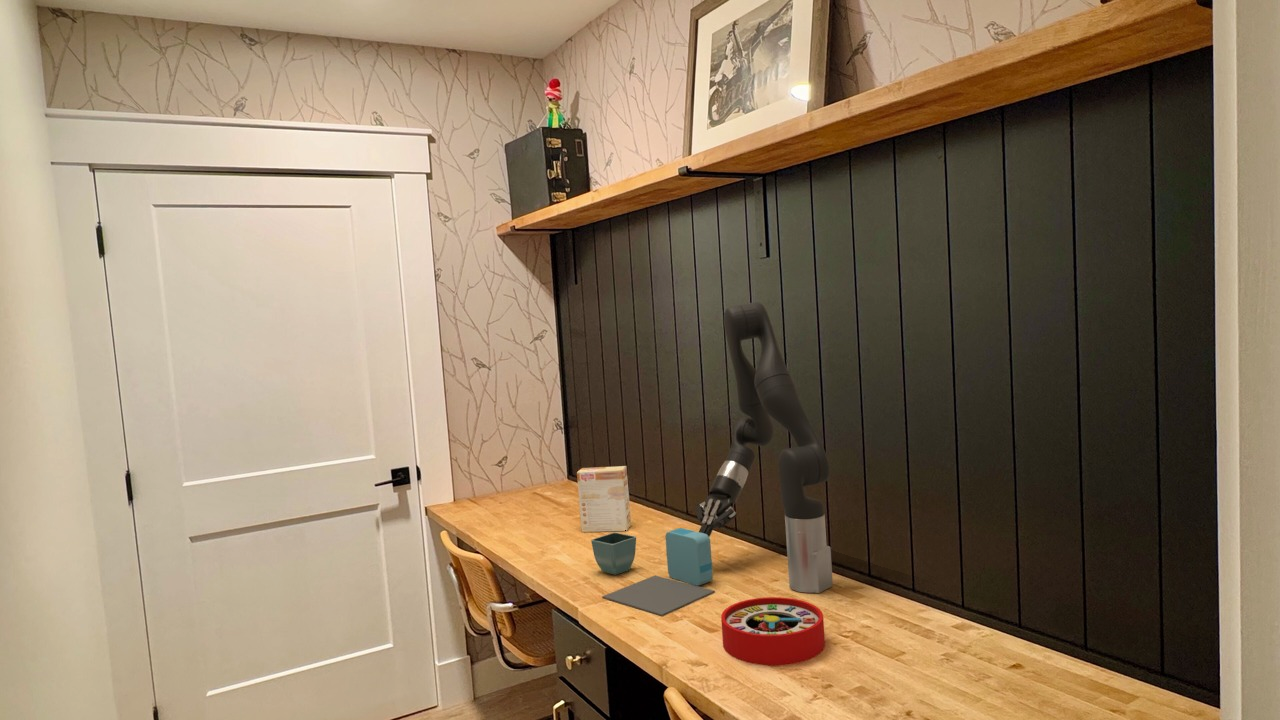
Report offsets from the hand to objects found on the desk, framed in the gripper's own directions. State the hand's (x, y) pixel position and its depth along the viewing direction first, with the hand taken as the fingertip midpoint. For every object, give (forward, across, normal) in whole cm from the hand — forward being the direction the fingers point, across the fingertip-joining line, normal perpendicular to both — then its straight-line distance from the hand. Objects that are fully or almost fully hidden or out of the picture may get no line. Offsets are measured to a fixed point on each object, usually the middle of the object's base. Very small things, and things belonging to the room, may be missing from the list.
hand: (701, 539), depth 201 cm
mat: (+19, +2, -7) cm, 20 cm away
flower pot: (+15, -20, -2) cm, 25 cm away
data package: (+10, 0, +2) cm, 11 cm away
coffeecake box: (-4, -54, +18) cm, 57 cm away
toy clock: (+23, +39, -11) cm, 47 cm away
